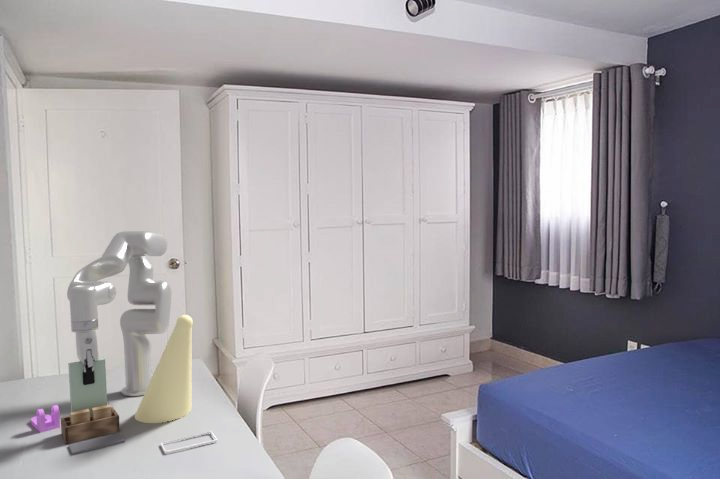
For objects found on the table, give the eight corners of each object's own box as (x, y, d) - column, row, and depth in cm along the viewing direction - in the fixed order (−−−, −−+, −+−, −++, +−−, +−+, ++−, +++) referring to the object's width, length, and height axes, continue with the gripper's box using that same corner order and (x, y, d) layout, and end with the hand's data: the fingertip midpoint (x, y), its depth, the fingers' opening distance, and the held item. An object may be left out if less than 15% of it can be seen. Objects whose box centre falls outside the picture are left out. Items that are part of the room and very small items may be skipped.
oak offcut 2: (110, 429, 171) (109, 404, 171) (112, 431, 169) (110, 406, 168) (93, 433, 168) (91, 408, 168) (94, 435, 166) (93, 410, 166)
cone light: (123, 415, 182) (119, 312, 180) (170, 399, 197) (166, 304, 195) (168, 432, 168) (163, 321, 166) (214, 413, 183) (211, 311, 181)
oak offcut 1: (89, 434, 168) (88, 408, 167) (90, 436, 165) (89, 411, 165) (71, 438, 165) (70, 412, 164) (72, 441, 163) (71, 415, 162)
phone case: (165, 456, 152) (218, 443, 160) (165, 451, 152) (217, 439, 160) (160, 446, 159) (211, 435, 166) (160, 442, 159) (211, 430, 166)
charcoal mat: (119, 434, 167) (119, 432, 167) (124, 442, 161) (124, 440, 161) (68, 446, 159) (68, 444, 159) (72, 455, 153) (72, 453, 153)
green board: (106, 411, 175) (103, 357, 173) (107, 414, 173) (105, 359, 171) (71, 419, 169) (68, 363, 167) (72, 422, 167) (69, 365, 165)
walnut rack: (113, 421, 177) (112, 407, 176) (119, 431, 169) (119, 415, 169) (61, 433, 168) (60, 418, 168) (65, 444, 160) (64, 427, 160)
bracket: (60, 427, 173) (59, 406, 173) (40, 433, 169) (39, 411, 169) (47, 417, 182) (46, 396, 182) (28, 421, 178) (27, 401, 178)
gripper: (103, 328, 164) (106, 387, 165) (93, 318, 177) (96, 373, 179) (75, 332, 160) (79, 392, 161) (67, 322, 173) (70, 378, 174)
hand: (88, 382), depth 170 cm, fingers closed on green board, 2 cm apart
